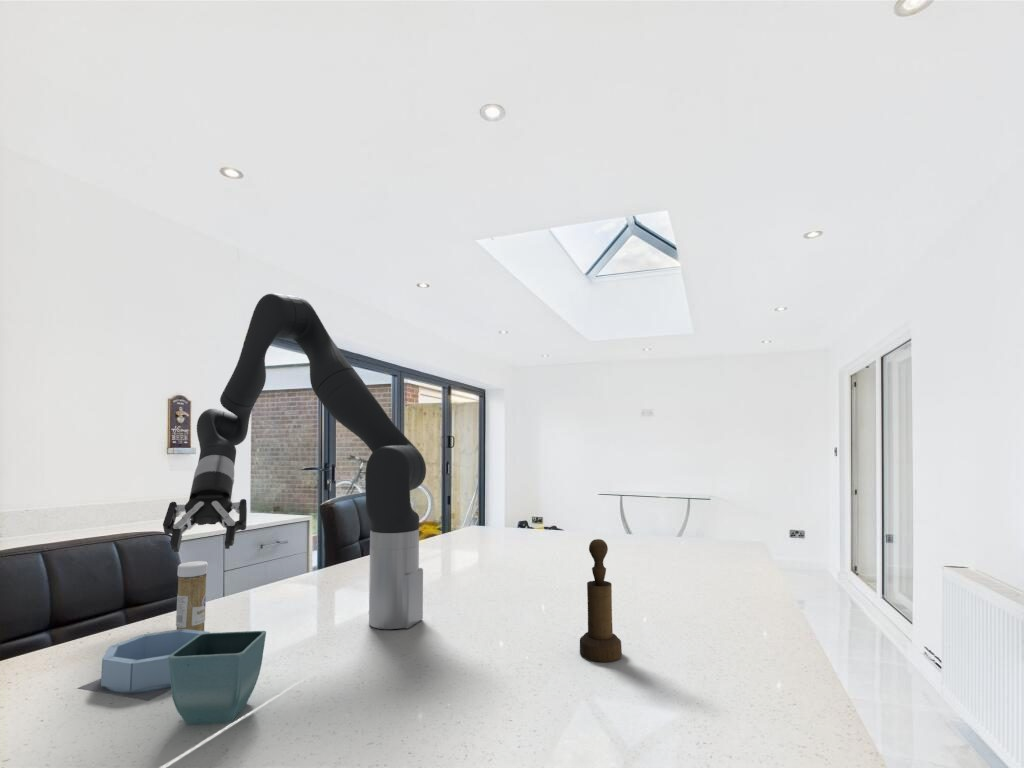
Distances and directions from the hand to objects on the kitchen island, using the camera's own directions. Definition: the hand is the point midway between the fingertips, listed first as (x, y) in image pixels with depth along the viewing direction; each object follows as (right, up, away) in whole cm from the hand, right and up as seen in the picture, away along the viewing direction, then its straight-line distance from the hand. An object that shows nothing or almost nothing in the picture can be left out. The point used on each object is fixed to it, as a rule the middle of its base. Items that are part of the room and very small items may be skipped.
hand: (201, 548), depth 107 cm
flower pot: (+21, -11, -35) cm, 43 cm away
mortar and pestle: (+72, -13, -16) cm, 75 cm away
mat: (+6, -12, -23) cm, 27 cm away
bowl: (+6, -12, -23) cm, 27 cm away
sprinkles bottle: (+3, -14, -10) cm, 17 cm away
